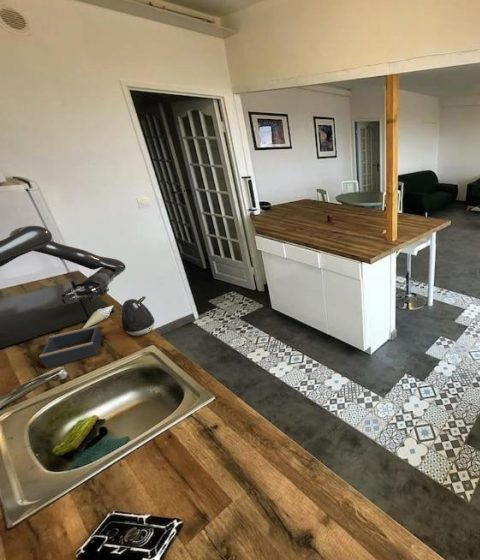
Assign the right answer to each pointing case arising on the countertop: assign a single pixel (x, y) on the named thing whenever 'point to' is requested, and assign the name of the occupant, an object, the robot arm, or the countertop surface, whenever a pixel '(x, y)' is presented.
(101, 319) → the ice cream cone
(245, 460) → the countertop surface
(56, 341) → the basket
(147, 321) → the pump dispenser
